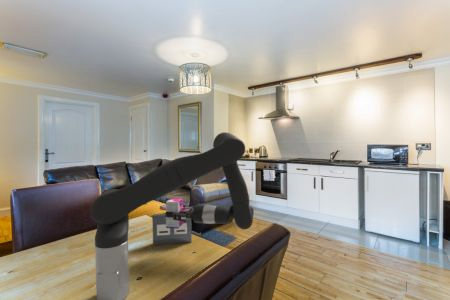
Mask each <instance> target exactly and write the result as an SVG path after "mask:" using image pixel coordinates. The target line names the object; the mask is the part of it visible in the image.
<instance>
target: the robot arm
mask: <svg viewBox="0 0 450 300" xmlns="http://www.w3.org/2000/svg"><path fill="white" fill-rule="evenodd" d="M245 152H246V144H245V143H244V142H243V140H242V139H241V138H239V137H237V136H236V135H234V134H232V133H229V132H221V133H219V134H217V135H216V136H215V137H214V139H213V144H212V148H211V149H208V150H207V151H205V152H201V153H199V154H198V153H196V154H193V155H187V156H181V157H178V158H175V159H173V160H170V161H168V162H166V163H164V164H162V165H160V166H158V167H157V168H155V169H153V170H151V171H150V172H148V173H147V174H145V175H143V176H142V177H141V178H140V179H137V180H136V181H135V182H133V183H131V184H129V185H127V186H124V187H121V188H119V189H118V188H117V189H116V188H112V189H107V190H105V191H104V192H102V193H101V194H99V196H97V197H96V198H95V199H94V201H93V202H92V204H91V206H90V211H89V212H90V217H91V219H92V220H93V221H94V222H95V223H96V224H97V226H96V232H95V235H94V252H95V255H94V256H95V257H94V258H95V261H94V263H95V287H96V289H95V290H96V300H125V299H126V298H127V297H128V296H129V294H130V274H129V273H130V269H129V225H130V222H129V221H130V220H129V218H130V217H129V214H130V213H132V212H134V211H135V210H137V209H139V208H140V207H142V206H144V205H145V204H149V203H150V202H153V201H155V200H157V199H159V198H162V197H163V196H166V195H168V194H170V193H173V192H174V191H176V190H179V189H181V188H182V187H184V186H187V185H188V184H190V183H193V182H194V181H196V180H198V179H199V178H201V177H203V176H206V175H207V174H209V173H211V172H214V171H216V170H219V169H221V168H222V171H223V173H224V177H225V180H226V184H227V187H228V191H229V196H230V200H231V203H232V205H228V206H222V205H211V204H195V205H183V210H180V211H179V212H166V211H165V213H164V214H165V215H166V217H171V218H173V220H177V221H186V219H190V218H191V220H193V222H194V223H195V224H210V225H211V224H222V225H227V224H229V223H230V221H231V220H234V223H235V225H236V226H237V227H238V228H239V229H241V230H248V229H250V228H251V227H252V226H253V221H254V213H255V212H254V211H255V210H254V208H253V206H252V205H251V204H250V195H249V191H248V187H247V184H246V181H245V179H244V176H243V174H242V171H241V170H240V167H239V164H238V161H239V160H240V159H242V158H243V156H244V154H245ZM181 213H182V214H181Z"/></svg>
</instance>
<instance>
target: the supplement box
mask: <svg viewBox="0 0 450 300" xmlns="http://www.w3.org/2000/svg"><path fill="white" fill-rule="evenodd" d="M183 207H184V199H183V198H171V199H168V200H166V201H165V213H166V212H179V211H180V210H183ZM181 214H182V213H181ZM181 225H183V221H177V220H173V218H171V217H166V228H175V229H178V228H179V227H180V226H181Z"/></svg>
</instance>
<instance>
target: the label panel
mask: <svg viewBox="0 0 450 300" xmlns="http://www.w3.org/2000/svg"><path fill="white" fill-rule="evenodd" d="M151 216H152V219H151V220H152V246H153V245H154V246H156V245H170V244H173V245H174V244H185V243H186V244H187V243H192V237H193V236H192V218H190V219H186V221H183V225H181V226H180V227H179V228H178V229H175V228H166V215H165V213H153V214H152V215H151Z"/></svg>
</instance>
